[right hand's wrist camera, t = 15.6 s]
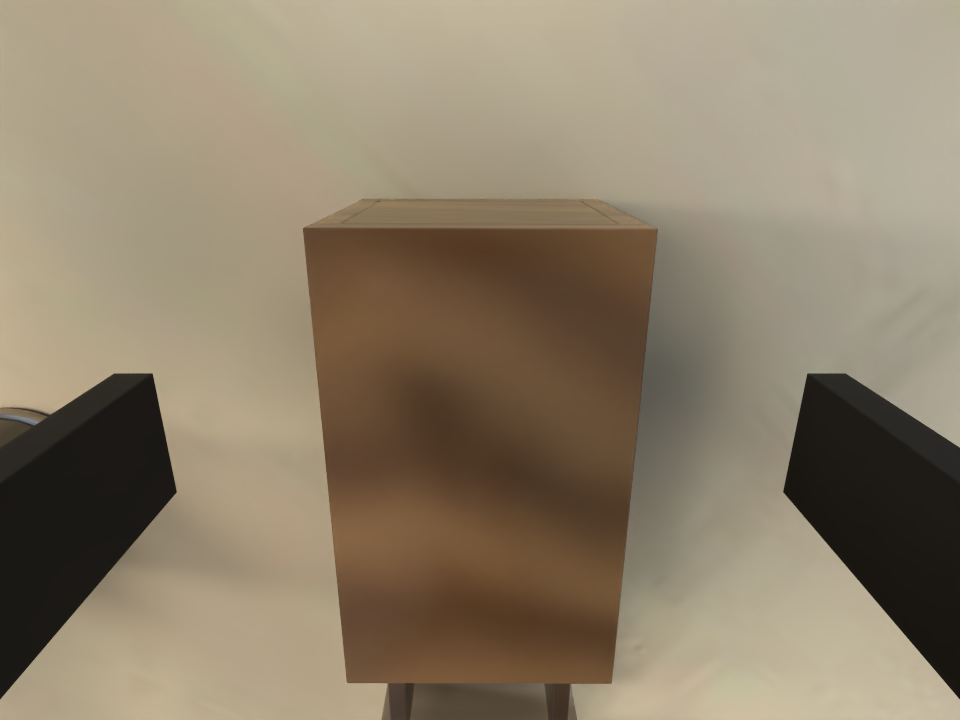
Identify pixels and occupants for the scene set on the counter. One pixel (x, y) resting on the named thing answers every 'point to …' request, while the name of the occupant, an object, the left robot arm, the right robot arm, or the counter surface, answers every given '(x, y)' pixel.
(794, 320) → the counter surface
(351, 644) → the cabinet
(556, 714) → the drawer
